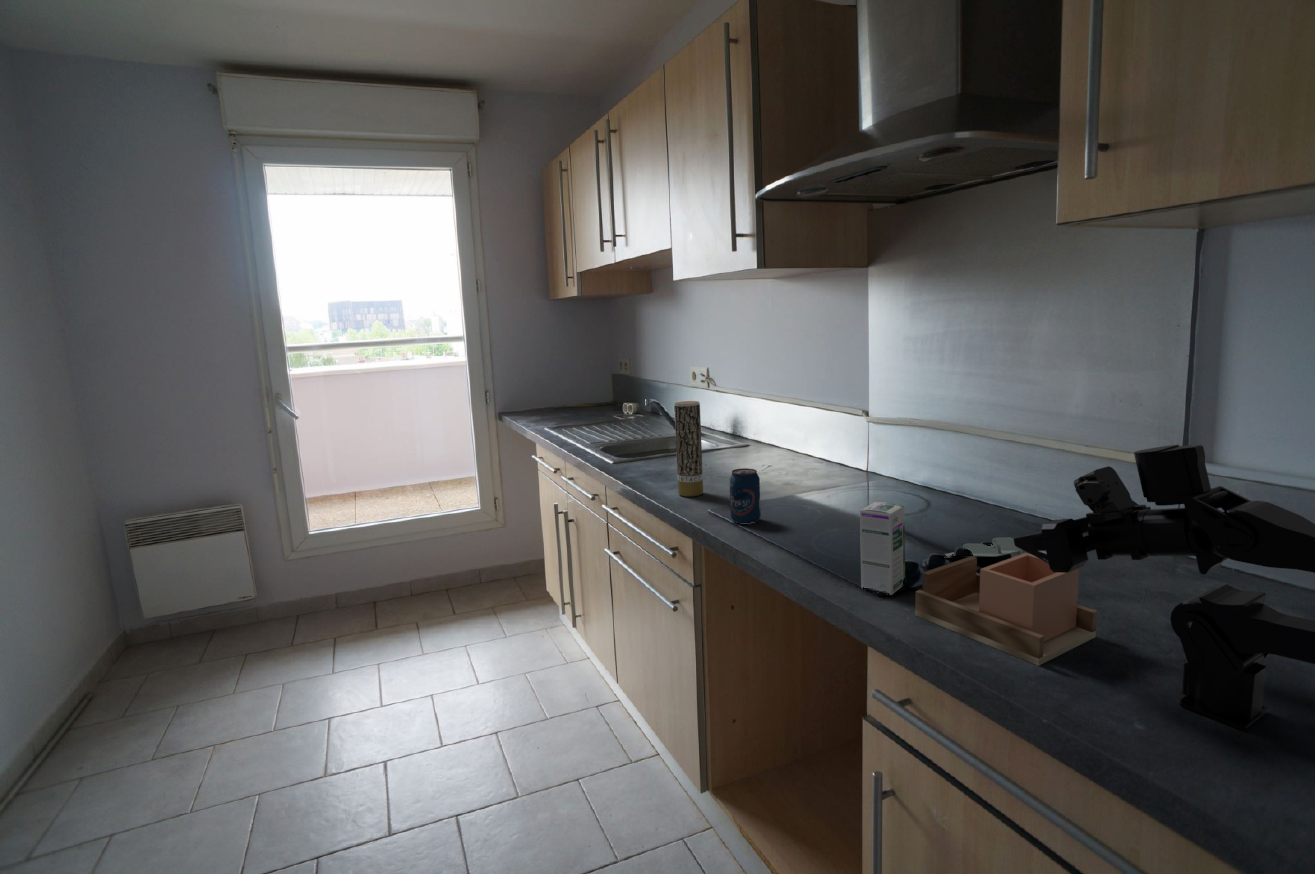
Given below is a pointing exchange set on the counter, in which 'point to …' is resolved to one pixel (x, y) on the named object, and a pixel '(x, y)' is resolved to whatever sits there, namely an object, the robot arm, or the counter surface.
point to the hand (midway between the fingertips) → (1034, 535)
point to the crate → (1030, 595)
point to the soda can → (745, 495)
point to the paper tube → (688, 448)
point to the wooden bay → (957, 608)
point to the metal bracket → (994, 548)
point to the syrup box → (882, 546)
